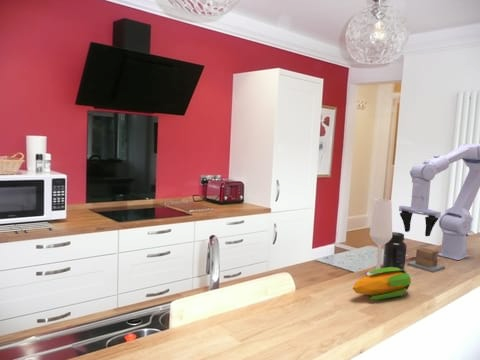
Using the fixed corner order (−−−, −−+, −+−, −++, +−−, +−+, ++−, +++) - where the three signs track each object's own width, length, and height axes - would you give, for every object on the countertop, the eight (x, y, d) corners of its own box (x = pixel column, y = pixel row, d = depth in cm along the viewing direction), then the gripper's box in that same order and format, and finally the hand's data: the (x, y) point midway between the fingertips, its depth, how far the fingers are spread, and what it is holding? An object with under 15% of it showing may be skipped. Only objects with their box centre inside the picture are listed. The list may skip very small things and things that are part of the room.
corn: (419, 268, 105) (365, 277, 95) (418, 295, 105) (365, 307, 96) (397, 262, 111) (344, 270, 102) (396, 288, 111) (344, 298, 102)
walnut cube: (422, 261, 135) (423, 247, 134) (436, 265, 131) (438, 251, 131) (415, 263, 132) (416, 249, 131) (429, 267, 128) (431, 253, 127)
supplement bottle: (378, 266, 130) (380, 231, 129) (393, 264, 133) (395, 230, 131) (394, 272, 124) (397, 236, 122) (409, 270, 126) (412, 235, 125)
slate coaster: (418, 261, 138) (419, 259, 137) (444, 268, 130) (444, 266, 130) (407, 264, 133) (407, 262, 133) (433, 272, 126) (433, 270, 125)
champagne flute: (381, 280, 116) (388, 202, 114) (362, 274, 121) (367, 199, 119) (393, 276, 120) (399, 201, 118) (373, 270, 125) (379, 198, 123)
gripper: (395, 194, 142) (392, 230, 143) (435, 200, 130) (431, 239, 132) (405, 193, 146) (402, 228, 147) (444, 199, 135) (441, 236, 136)
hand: (417, 233), depth 140 cm, fingers open, 7 cm apart
